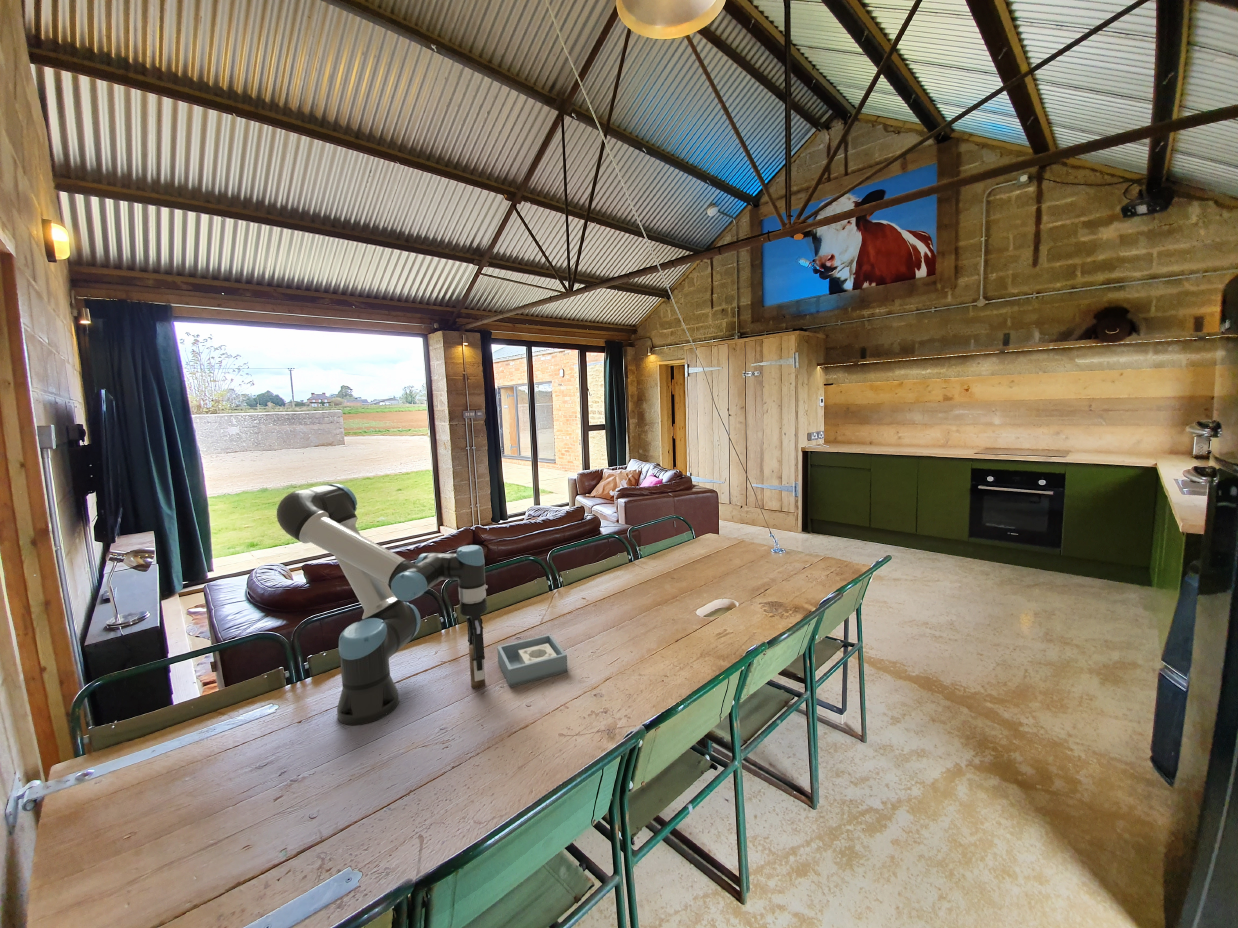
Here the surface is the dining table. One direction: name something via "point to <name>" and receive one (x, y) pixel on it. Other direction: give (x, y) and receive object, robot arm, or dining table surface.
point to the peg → (473, 683)
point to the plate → (535, 653)
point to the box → (532, 670)
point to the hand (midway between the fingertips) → (477, 673)
